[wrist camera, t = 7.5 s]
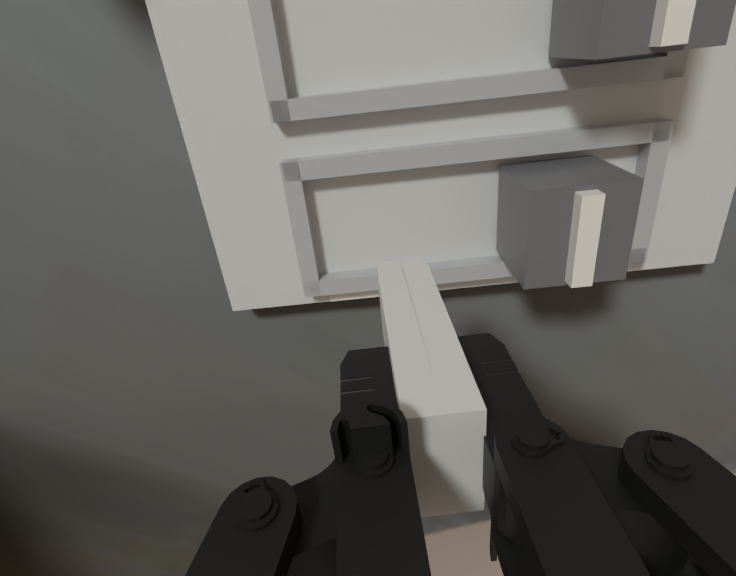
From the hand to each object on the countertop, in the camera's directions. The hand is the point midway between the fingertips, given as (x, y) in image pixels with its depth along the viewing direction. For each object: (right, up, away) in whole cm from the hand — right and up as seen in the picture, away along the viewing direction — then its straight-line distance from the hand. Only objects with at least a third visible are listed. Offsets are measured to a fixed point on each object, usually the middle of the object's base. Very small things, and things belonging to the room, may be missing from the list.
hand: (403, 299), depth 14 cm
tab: (+7, +4, +6) cm, 10 cm away
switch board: (+3, +8, +6) cm, 11 cm away
